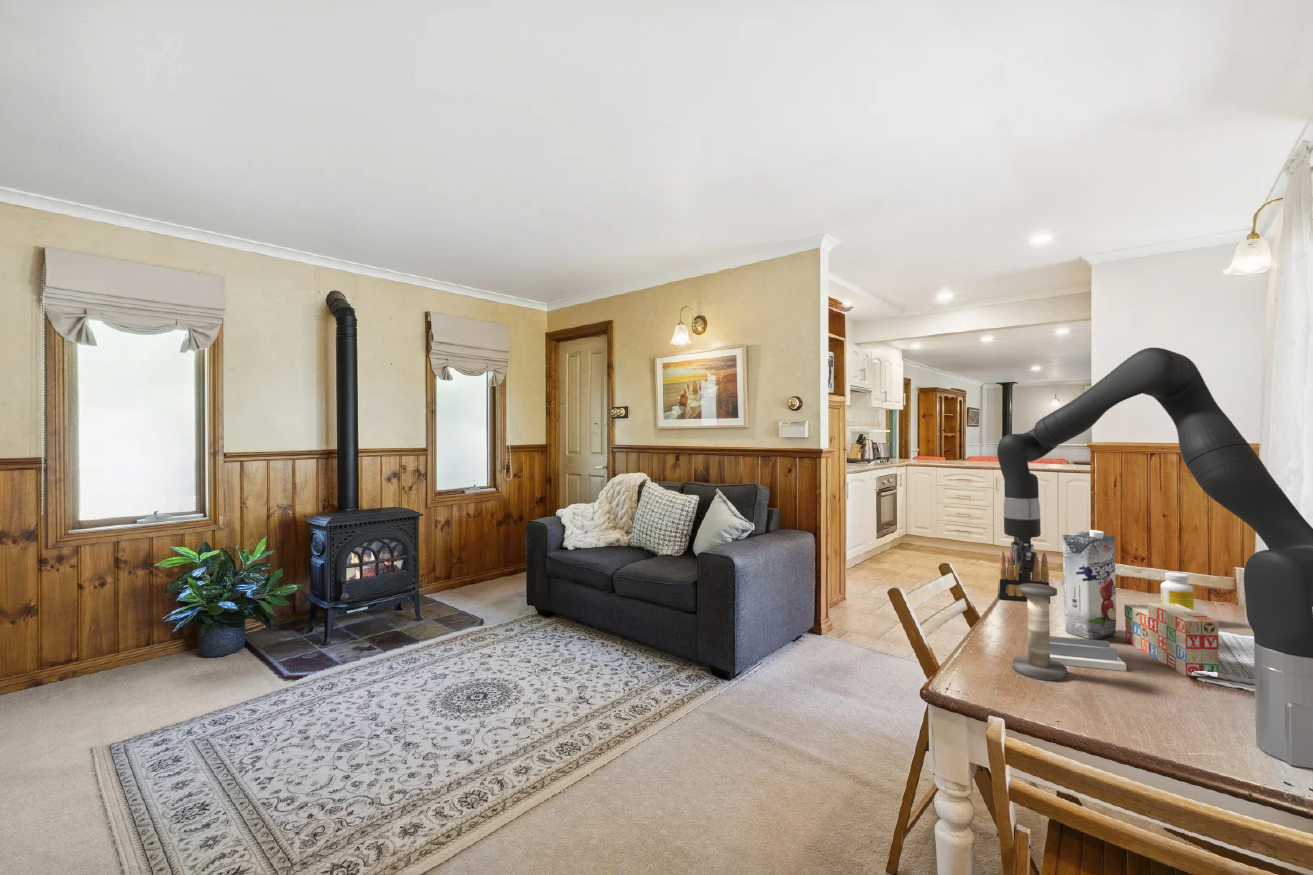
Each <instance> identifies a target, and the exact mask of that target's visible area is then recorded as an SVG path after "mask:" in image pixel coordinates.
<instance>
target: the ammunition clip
mask: <svg viewBox="0 0 1313 875" xmlns="http://www.w3.org/2000/svg"><path fill="white" fill-rule="evenodd" d="M1034 552H1035V560H1034V567H1033V573H1031V574H1030V583H1032V584H1042V585H1048V586H1050V579H1049V574H1050V573H1049V567H1048V557H1047V553H1046V552H1043V554H1042V556H1041V565H1040V563H1039V561H1040V560H1039V556H1038V553H1037V552H1036V551H1034ZM1020 560H1021V559H1020ZM1024 567H1027V565H1024ZM997 583H998V584H997V598H998V599H999V600H1000V601H1007V602H1019V603H1020V602H1021V603H1022V602H1023V603H1027V594H1025V593H1022V592H1020V591H1019V572H1018V563H1017V562H1016V567H1015V566H1014V563H1013V555H1012V550H1010V551H1009V553H1008V555H1007V565H1006V555H1005V552H1004V550H1001V551H1000V554H999V565H998V582H997ZM1050 604H1051V596H1050V597H1049V605H1050Z"/></svg>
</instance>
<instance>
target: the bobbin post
mask: <svg viewBox="0 0 1313 875" xmlns="http://www.w3.org/2000/svg"><path fill="white" fill-rule="evenodd" d="M1019 591H1020V592H1022V593H1025V594H1027V602H1026V605H1027V606H1026V607H1027V608H1026V609H1027V649H1028V650H1027V651H1028V652H1027V653H1028V655H1020V656H1015V657H1013V659H1012V669H1013V670H1014V671H1015V672H1017V673H1018V674H1020V675H1022V676H1024V677H1027V678H1029V679H1035V680H1039V681H1046V682H1047V681H1049V682H1054V681H1055V682H1058V681H1064V680H1066V679H1067V678H1068V668H1067V666H1066V665H1063V664H1061V663H1059V662H1057V661H1054V660H1051V659H1050V636H1051V635H1050V604H1049V597H1050V598H1051V597H1056V596H1058V589H1057V588H1056V587H1055V586H1052V585H1049V586H1048V585H1042V584H1032V583H1027V584H1020V585H1019Z"/></svg>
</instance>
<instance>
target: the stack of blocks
mask: <svg viewBox="0 0 1313 875" xmlns="http://www.w3.org/2000/svg"><path fill="white" fill-rule="evenodd" d="M1124 619H1125V621H1124V622H1125V623H1124V624H1125V642H1128V643H1129V644H1131V645H1133V646H1134V647H1136V648H1137V649H1139V650H1141V651H1142V652H1144V653H1146V655H1148V656H1149V655H1150V656H1151V657H1153V658H1154V659H1156V660H1158V661H1160V662H1161V663H1164V665H1167V666H1168V667H1169V668H1172V669H1173V670H1175V671H1176V672H1178V673H1179V674H1181V675H1183V676H1185V677H1193V676H1192V675H1191V674H1192V672H1194V671H1207V672H1218V673H1219V670H1220V669H1219V668H1220V666H1219V647H1220V646H1219V644H1220V642H1219V641H1220V640H1219V639H1220V638H1219V625H1220V624H1219V621H1218V620H1216V619H1214V618H1212V617H1209V616H1208V615H1207V614H1204V613H1201V612H1199V611H1196V610H1195V609H1194V610H1191V609H1189V608H1186V607H1184V606H1181V605H1179V604H1161V603H1155V602H1154V603H1153V602H1152V603H1151V602H1148V604H1124Z"/></svg>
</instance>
